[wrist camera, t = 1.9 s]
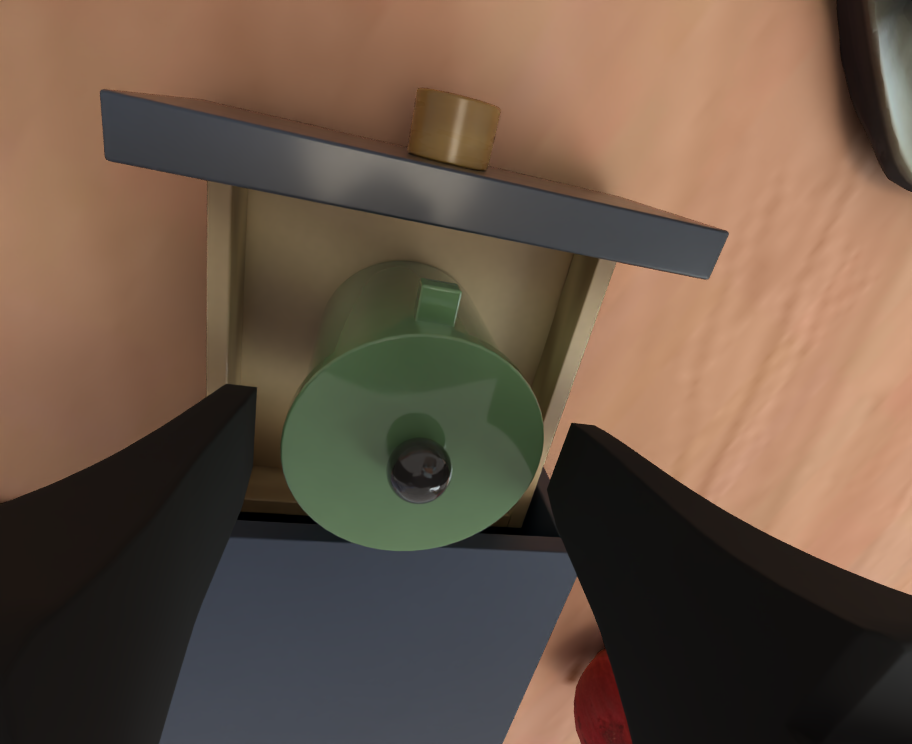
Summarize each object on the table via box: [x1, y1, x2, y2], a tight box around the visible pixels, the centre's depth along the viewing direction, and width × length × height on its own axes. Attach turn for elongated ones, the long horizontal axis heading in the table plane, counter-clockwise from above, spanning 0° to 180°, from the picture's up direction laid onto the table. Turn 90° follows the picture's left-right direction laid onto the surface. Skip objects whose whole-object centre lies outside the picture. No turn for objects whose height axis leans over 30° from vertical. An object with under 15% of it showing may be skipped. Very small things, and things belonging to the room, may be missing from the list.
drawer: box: [100, 88, 729, 528], centre depth 15 cm, size 14×13×6 cm
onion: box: [574, 649, 632, 744], centre depth 26 cm, size 6×6×8 cm
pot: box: [280, 261, 544, 551], centre depth 13 cm, size 6×7×8 cm
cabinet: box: [159, 467, 577, 744], centre depth 20 cm, size 12×13×6 cm
